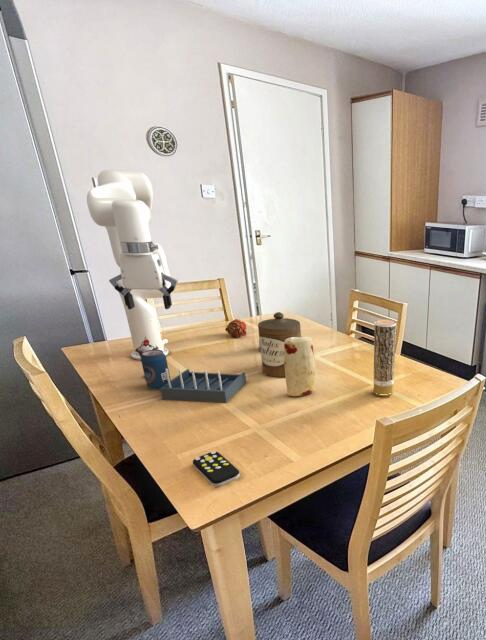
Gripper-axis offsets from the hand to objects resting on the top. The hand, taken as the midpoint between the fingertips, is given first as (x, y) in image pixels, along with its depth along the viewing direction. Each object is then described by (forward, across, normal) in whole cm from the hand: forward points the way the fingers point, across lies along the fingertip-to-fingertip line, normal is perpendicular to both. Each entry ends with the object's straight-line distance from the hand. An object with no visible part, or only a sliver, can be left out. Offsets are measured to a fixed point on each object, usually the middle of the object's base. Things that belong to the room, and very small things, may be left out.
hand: (150, 308), depth 121 cm
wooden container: (+28, -36, -15) cm, 47 cm away
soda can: (+28, +3, -4) cm, 28 cm away
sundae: (+28, +8, -14) cm, 32 cm away
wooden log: (+27, -69, +11) cm, 75 cm away
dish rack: (+27, -12, +1) cm, 30 cm away
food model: (+28, -42, +8) cm, 51 cm away
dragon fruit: (+28, -13, -59) cm, 66 cm away
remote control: (+27, -23, +48) cm, 60 cm away
